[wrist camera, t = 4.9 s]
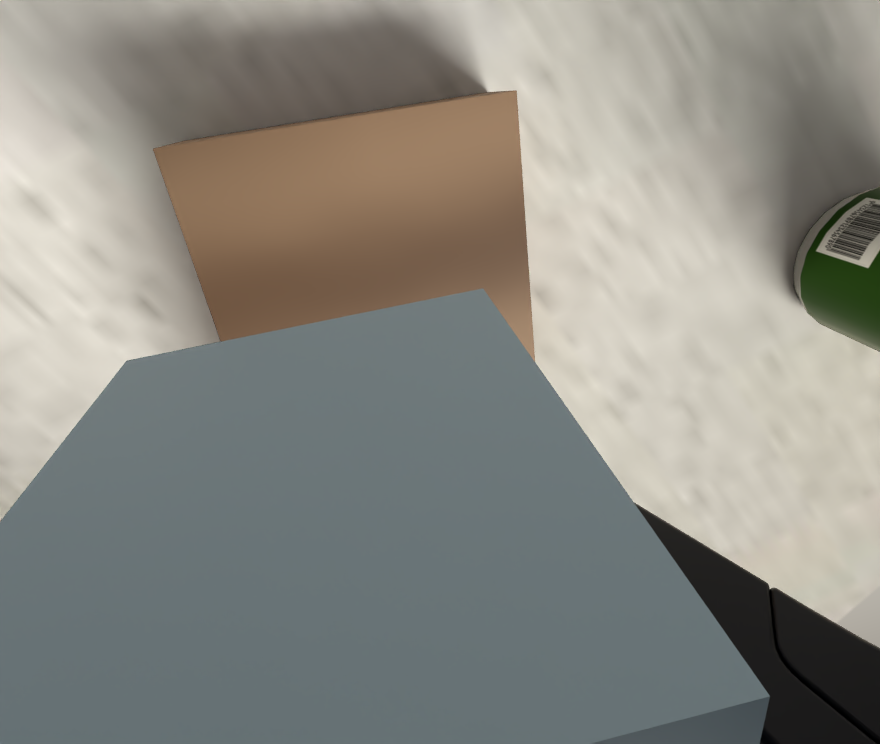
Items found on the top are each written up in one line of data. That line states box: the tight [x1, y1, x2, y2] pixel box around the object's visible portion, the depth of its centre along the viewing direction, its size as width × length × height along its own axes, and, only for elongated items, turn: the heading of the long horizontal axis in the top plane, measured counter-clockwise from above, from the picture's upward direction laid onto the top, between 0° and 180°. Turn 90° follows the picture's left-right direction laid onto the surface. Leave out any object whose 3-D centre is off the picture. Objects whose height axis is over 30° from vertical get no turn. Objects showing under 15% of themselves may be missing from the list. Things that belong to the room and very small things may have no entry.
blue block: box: [0, 289, 770, 744], centre depth 6 cm, size 5×5×6 cm
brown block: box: [153, 91, 535, 361], centre depth 17 cm, size 9×9×3 cm
